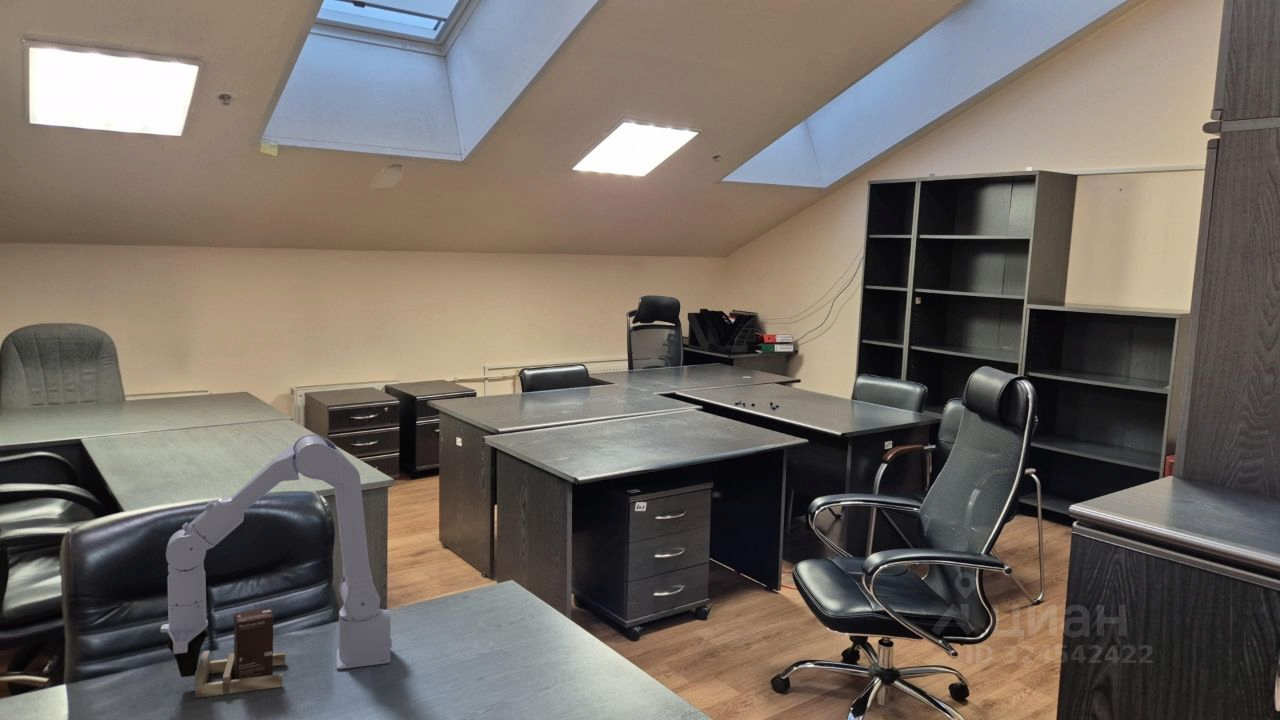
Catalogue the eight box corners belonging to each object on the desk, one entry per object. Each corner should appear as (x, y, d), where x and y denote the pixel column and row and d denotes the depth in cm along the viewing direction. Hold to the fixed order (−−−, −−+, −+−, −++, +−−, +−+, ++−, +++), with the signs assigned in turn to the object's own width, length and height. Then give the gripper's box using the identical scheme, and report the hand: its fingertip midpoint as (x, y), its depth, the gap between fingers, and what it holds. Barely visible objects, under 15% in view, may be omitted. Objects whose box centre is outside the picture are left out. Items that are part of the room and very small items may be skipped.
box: (237, 688, 141) (236, 622, 139) (233, 677, 144) (233, 612, 143) (274, 680, 144) (273, 615, 143) (270, 669, 148) (269, 606, 146)
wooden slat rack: (285, 662, 150) (285, 642, 150) (281, 686, 142) (281, 665, 141) (203, 672, 145) (203, 651, 145) (195, 697, 137) (194, 675, 136)
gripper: (169, 586, 144) (170, 658, 146) (151, 619, 131) (153, 698, 132) (213, 582, 147) (214, 653, 148) (200, 614, 133) (201, 692, 135)
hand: (188, 674), depth 140 cm, fingers closed
